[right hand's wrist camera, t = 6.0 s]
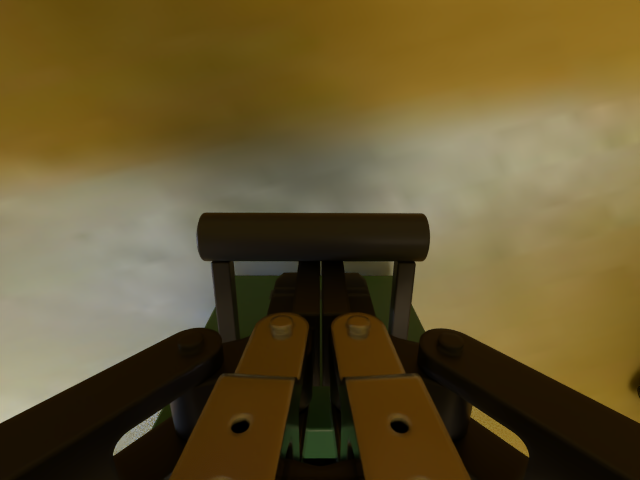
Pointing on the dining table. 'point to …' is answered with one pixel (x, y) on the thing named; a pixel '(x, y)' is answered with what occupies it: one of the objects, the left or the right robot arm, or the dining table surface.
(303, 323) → the right robot arm
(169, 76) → the dining table surface
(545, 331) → the dining table surface
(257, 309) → the drawer
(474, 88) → the dining table surface
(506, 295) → the dining table surface
